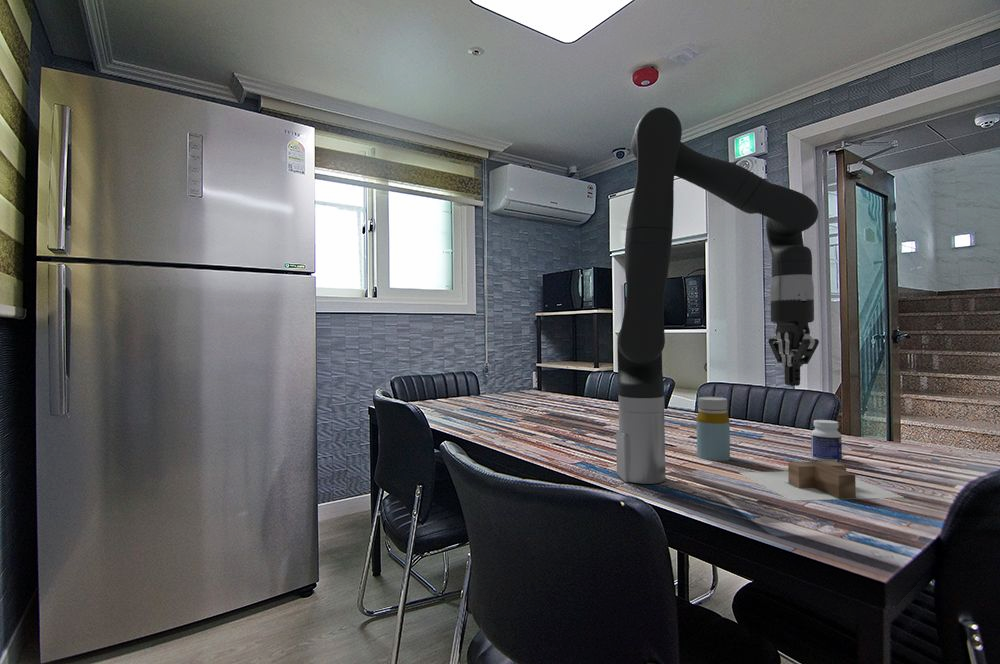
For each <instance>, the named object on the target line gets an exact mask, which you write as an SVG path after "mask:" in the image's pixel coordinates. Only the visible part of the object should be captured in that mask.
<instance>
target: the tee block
mask: <svg viewBox="0 0 1000 664" xmlns="http://www.w3.org/2000/svg"><path fill="white" fill-rule="evenodd" d="M787 463H788V464H787V467H788V468H787V470H788V481H789V484H791V485H793V486H795V487H797V488H816V489H818V490H820V491H823V492H825V493H827V494H829V495H831V496H834V497H836V498H838V499H837V500H852V499H851V498H856V482H855V478H856V474H854V473H851V472H848V471H847V465H846V464H843V463H841V462H835V461H819V460H818V461H794V462H793V461H791V462H787Z"/></svg>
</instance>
